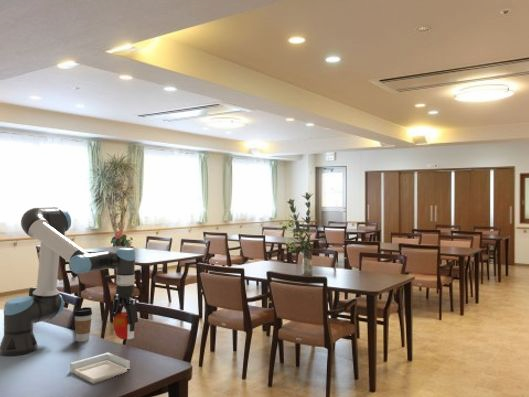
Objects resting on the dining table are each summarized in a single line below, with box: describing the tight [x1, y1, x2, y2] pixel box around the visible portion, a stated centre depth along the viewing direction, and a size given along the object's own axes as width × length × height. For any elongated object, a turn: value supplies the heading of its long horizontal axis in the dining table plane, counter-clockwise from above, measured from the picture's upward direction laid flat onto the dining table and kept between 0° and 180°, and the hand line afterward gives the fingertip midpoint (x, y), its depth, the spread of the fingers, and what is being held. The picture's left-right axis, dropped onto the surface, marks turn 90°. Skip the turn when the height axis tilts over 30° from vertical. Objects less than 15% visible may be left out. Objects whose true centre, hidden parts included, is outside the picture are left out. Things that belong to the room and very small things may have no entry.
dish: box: [73, 360, 128, 384], centre depth 180 cm, size 14×14×2 cm
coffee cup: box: [73, 306, 93, 343], centre depth 223 cm, size 8×8×15 cm
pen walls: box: [69, 352, 131, 374], centre depth 183 cm, size 16×17×4 cm
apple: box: [112, 310, 129, 340], centre depth 198 cm, size 9×9×12 cm
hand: (123, 335), depth 198 cm, fingers closed on apple, 9 cm apart
